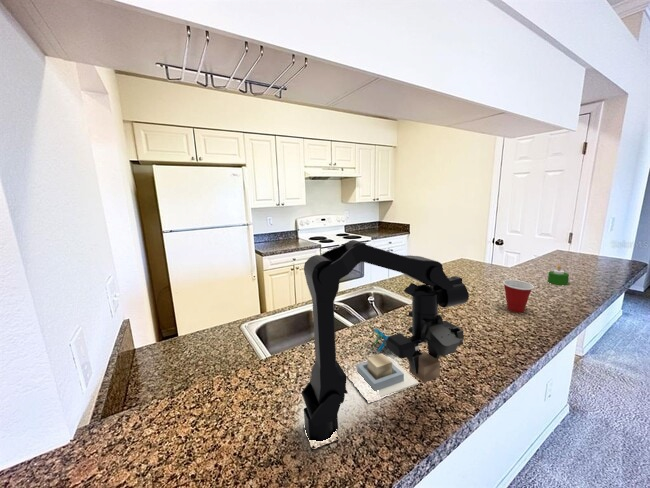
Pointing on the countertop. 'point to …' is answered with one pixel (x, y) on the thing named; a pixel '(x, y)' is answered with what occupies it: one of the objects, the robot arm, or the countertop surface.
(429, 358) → the walnut block
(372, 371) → the maple cube
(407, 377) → the board
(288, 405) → the countertop surface
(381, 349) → the gear
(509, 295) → the plastic cup
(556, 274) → the candle
